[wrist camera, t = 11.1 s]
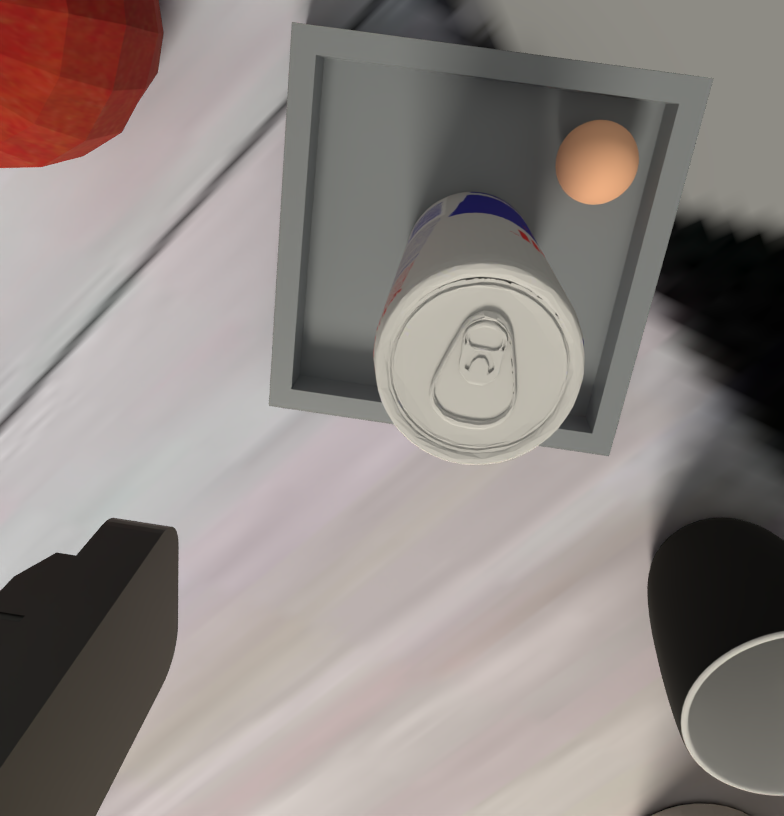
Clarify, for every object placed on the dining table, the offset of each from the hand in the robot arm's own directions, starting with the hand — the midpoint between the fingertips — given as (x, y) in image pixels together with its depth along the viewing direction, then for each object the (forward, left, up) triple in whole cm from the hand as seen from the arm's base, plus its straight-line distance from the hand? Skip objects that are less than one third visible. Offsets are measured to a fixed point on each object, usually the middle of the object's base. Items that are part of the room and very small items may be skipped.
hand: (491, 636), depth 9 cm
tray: (0, 0, -26) cm, 26 cm away
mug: (-17, +14, -26) cm, 34 cm away
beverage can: (0, 0, -25) cm, 25 cm away
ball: (-4, -5, -25) cm, 26 cm away
